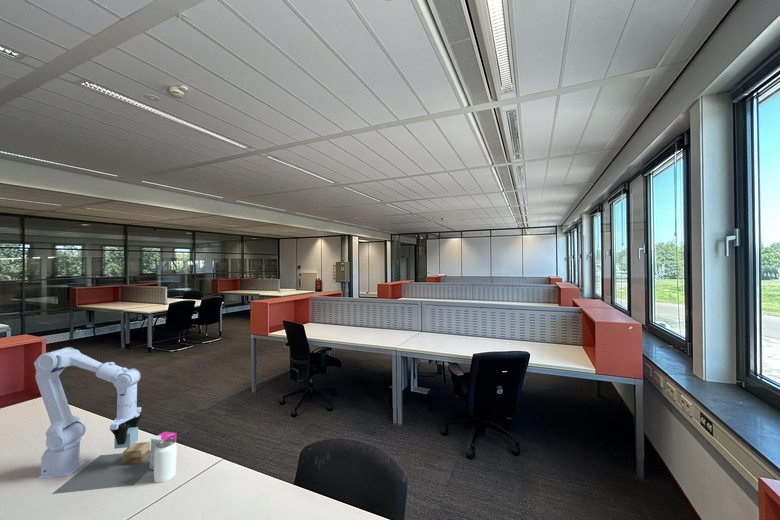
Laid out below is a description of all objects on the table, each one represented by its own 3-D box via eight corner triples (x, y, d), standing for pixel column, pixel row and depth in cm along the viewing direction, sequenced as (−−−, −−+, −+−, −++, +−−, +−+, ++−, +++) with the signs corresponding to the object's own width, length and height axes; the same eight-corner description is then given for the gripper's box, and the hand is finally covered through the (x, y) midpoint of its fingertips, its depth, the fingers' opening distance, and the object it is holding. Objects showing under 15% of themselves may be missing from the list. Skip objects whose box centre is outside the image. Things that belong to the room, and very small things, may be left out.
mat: (51, 494, 103) (51, 493, 103) (100, 456, 125) (100, 455, 125) (134, 485, 108) (134, 485, 108) (167, 449, 129) (167, 449, 129)
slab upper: (122, 458, 118) (122, 451, 119) (132, 449, 124) (132, 443, 124) (140, 456, 120) (140, 450, 120) (149, 448, 125) (149, 441, 126)
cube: (114, 448, 116) (114, 434, 116) (123, 441, 121) (123, 428, 121) (129, 447, 117) (130, 433, 117) (137, 440, 122) (138, 427, 122)
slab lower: (122, 465, 118) (122, 458, 118) (132, 456, 124) (132, 449, 124) (140, 463, 119) (140, 456, 120) (149, 454, 125) (149, 448, 125)
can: (180, 473, 114) (181, 440, 114) (162, 485, 108) (163, 449, 108) (167, 470, 116) (168, 436, 116) (149, 481, 110) (150, 446, 110)
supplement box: (162, 472, 115) (163, 440, 115) (148, 470, 116) (149, 438, 116) (176, 463, 120) (176, 432, 121) (163, 461, 122) (164, 430, 122)
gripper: (126, 410, 113) (125, 449, 113) (149, 395, 127) (149, 429, 127) (103, 412, 112) (102, 451, 111) (130, 396, 126) (129, 431, 126)
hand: (126, 440), depth 119 cm, fingers closed on cube, 5 cm apart
